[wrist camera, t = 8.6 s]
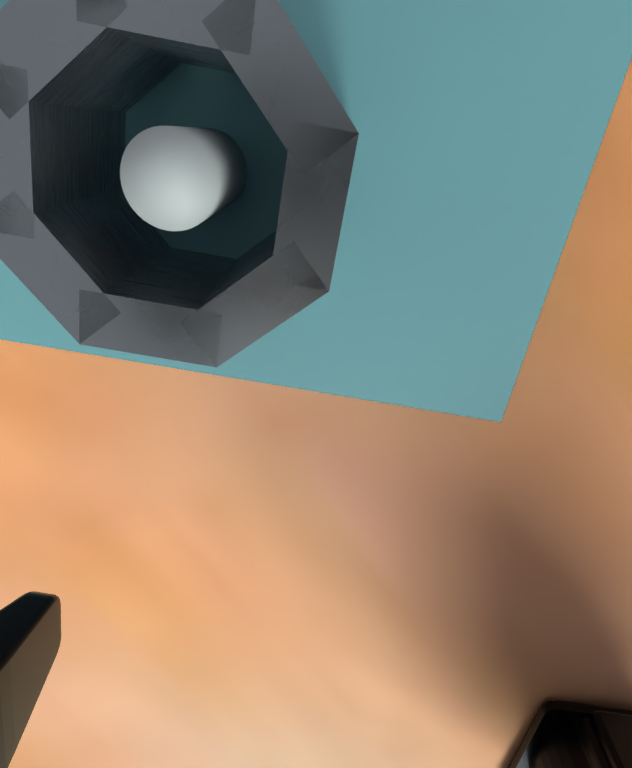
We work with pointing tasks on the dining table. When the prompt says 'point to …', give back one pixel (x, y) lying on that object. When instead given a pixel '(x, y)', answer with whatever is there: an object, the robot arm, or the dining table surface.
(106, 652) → the dining table surface
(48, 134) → the block
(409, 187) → the shaft base
